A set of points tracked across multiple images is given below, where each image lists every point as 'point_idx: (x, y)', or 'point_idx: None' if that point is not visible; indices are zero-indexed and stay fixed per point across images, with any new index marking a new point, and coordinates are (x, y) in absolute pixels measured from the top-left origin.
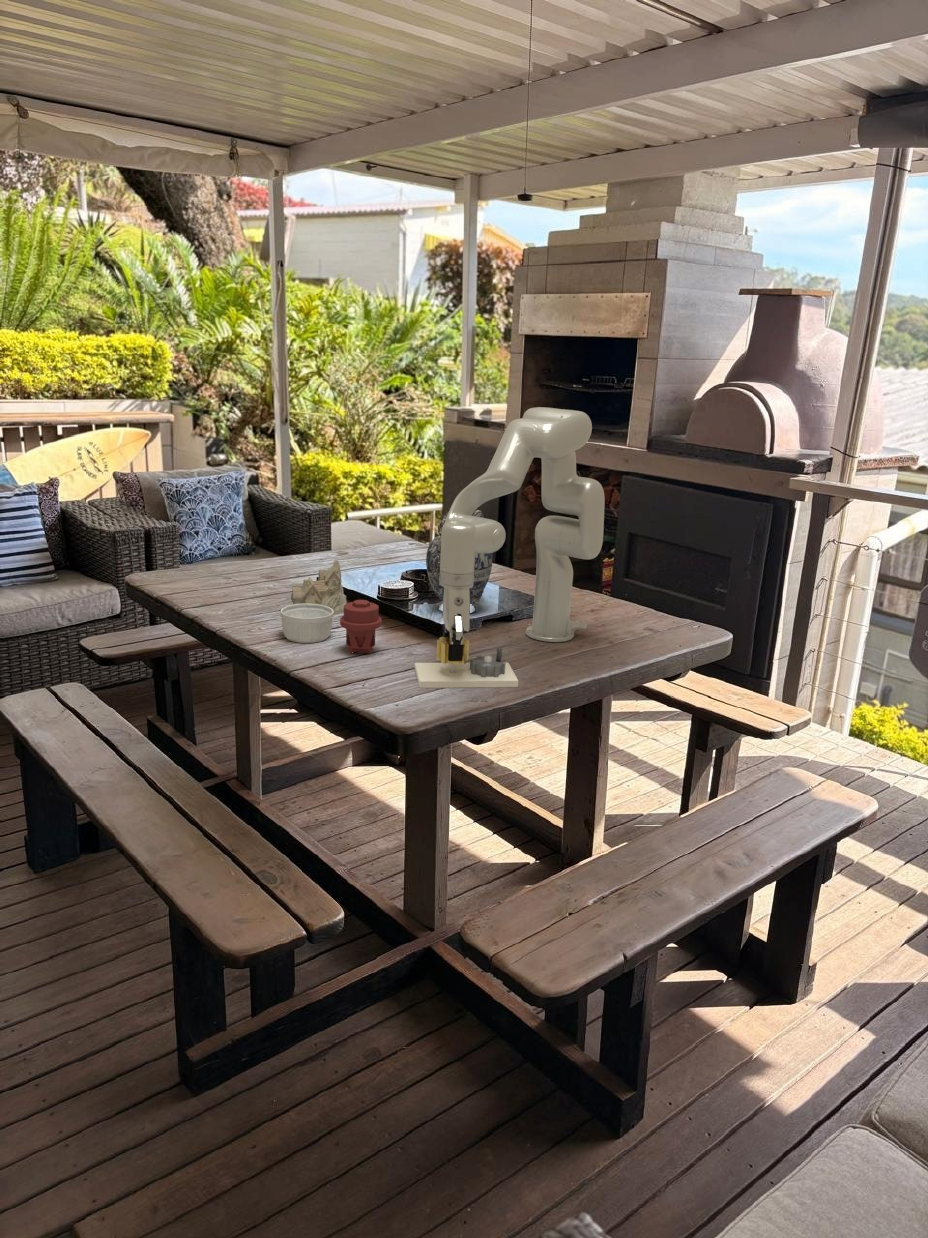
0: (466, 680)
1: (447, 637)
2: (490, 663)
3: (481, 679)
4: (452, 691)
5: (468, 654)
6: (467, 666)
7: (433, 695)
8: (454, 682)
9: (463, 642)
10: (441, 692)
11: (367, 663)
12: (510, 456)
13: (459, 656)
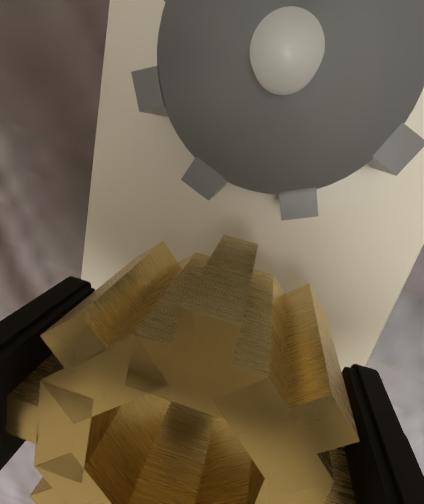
0: (390, 283)
1: (58, 471)
2: (356, 59)
3: (418, 185)
4: (408, 356)
5: (253, 261)
6: (159, 177)
7: (416, 448)
8: (370, 345)
9: (266, 413)
10: (397, 404)
11: (13, 490)
12: None
13: (407, 439)
